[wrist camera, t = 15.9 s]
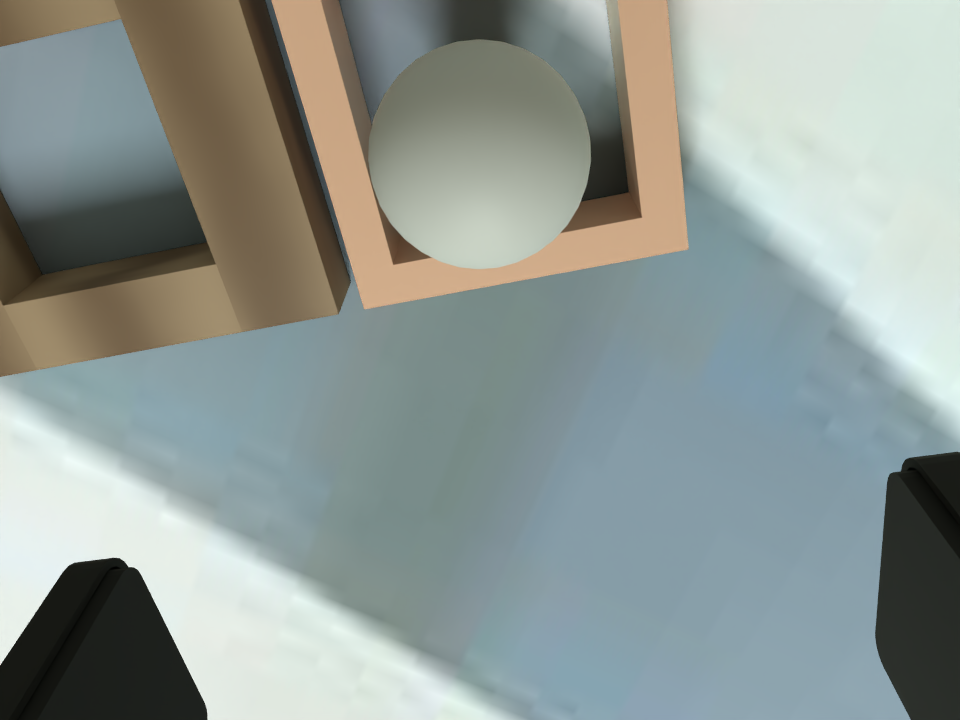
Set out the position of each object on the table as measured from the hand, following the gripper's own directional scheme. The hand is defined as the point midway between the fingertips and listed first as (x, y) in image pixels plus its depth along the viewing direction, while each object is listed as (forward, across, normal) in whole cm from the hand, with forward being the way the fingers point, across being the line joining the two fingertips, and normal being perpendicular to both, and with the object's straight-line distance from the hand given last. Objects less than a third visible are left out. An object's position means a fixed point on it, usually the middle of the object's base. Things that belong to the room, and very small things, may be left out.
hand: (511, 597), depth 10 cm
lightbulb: (+23, 0, -2) cm, 23 cm away
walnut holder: (+23, +15, -3) cm, 27 cm away
